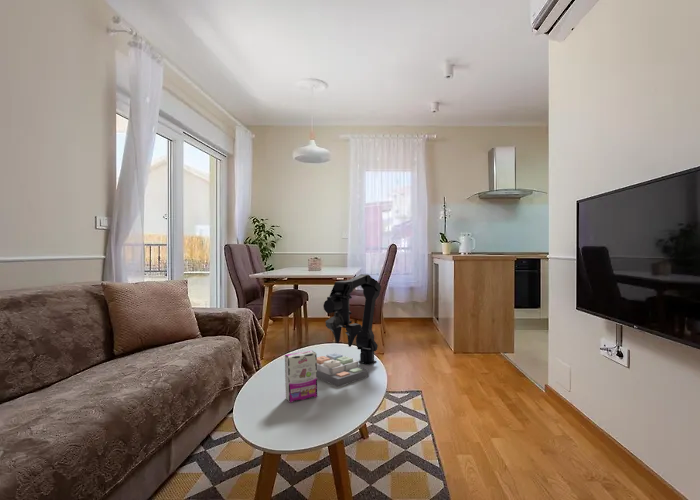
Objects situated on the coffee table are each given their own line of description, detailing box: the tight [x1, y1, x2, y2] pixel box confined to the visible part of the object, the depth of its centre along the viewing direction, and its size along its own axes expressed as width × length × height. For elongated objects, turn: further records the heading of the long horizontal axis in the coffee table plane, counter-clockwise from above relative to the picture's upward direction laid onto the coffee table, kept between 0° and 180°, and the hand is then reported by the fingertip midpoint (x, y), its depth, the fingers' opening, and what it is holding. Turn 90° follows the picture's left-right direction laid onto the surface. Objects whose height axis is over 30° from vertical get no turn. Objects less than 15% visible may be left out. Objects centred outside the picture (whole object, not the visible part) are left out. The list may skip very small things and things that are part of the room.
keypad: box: [317, 359, 370, 387], centre depth 161 cm, size 17×22×6 cm
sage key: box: [337, 355, 354, 364], centre depth 163 cm, size 5×5×2 cm
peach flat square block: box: [317, 355, 330, 364], centre depth 163 cm, size 5×5×2 cm
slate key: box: [326, 352, 344, 360], centre depth 168 cm, size 5×5×2 cm
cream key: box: [324, 359, 341, 368], centre depth 158 cm, size 5×5×2 cm
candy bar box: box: [284, 350, 318, 403], centre depth 137 cm, size 11×5×16 cm, turn 117°
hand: (343, 344), depth 163 cm, fingers open, 8 cm apart
